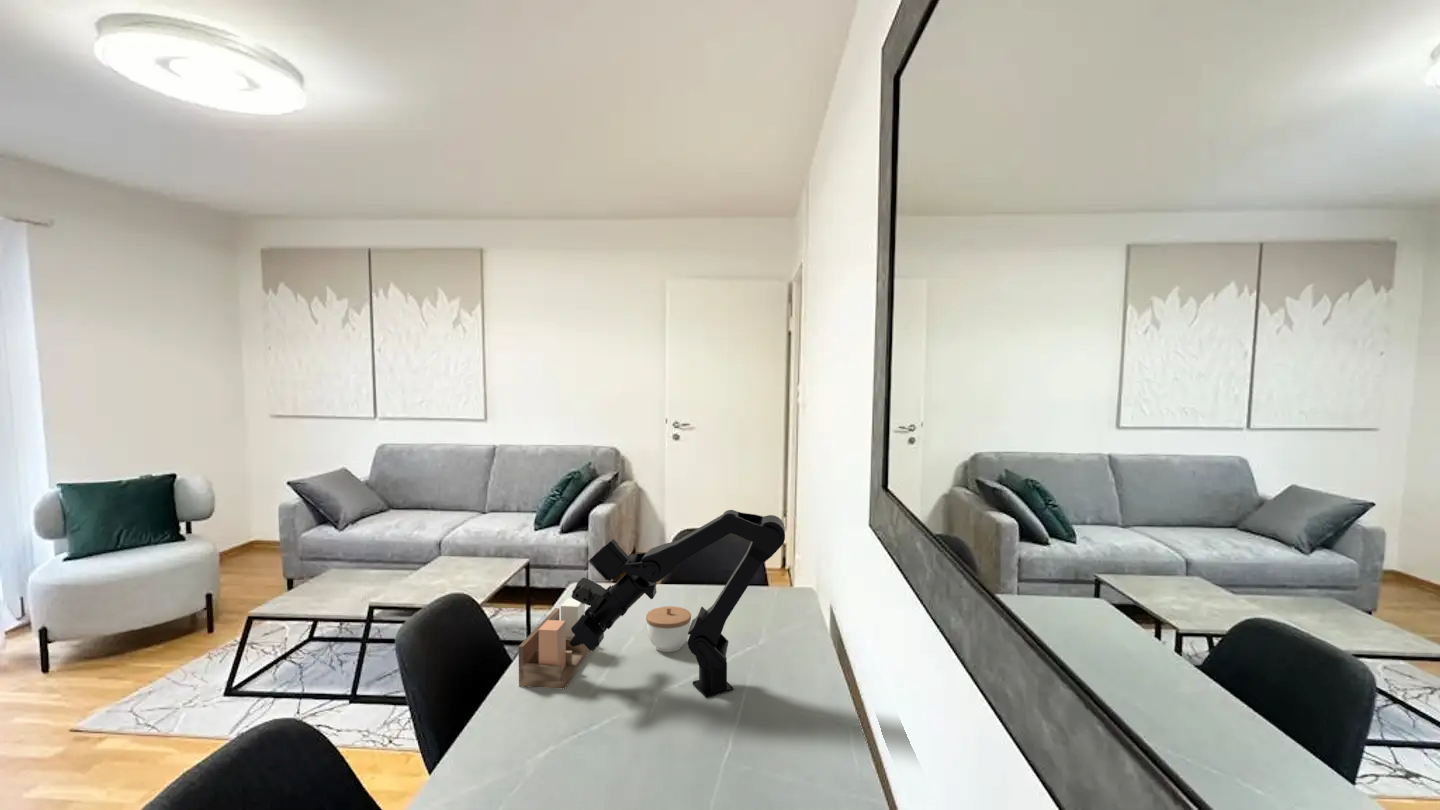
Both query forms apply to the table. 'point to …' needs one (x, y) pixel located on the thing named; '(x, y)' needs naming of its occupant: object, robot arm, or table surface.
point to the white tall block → (571, 614)
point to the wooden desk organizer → (545, 673)
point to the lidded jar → (668, 627)
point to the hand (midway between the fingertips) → (571, 644)
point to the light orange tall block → (552, 643)
